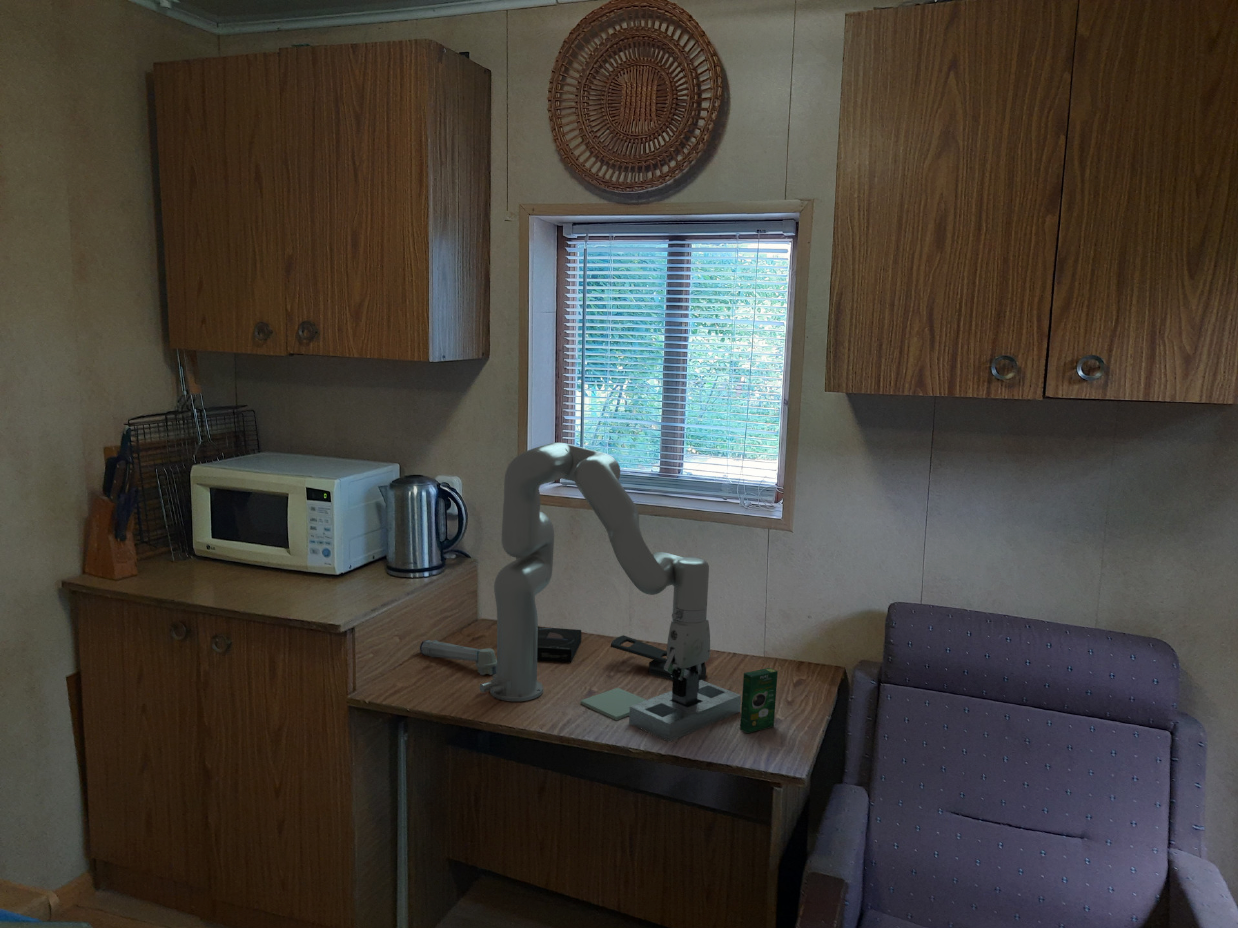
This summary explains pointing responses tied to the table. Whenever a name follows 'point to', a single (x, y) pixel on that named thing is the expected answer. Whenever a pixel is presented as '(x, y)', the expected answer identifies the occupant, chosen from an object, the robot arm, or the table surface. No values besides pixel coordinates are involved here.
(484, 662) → the grey long angled piece
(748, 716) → the coffee box
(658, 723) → the block with square holes
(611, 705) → the mat
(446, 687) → the table surface
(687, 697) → the square insert
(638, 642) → the zipper pull
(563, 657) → the portable cd player
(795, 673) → the table surface
